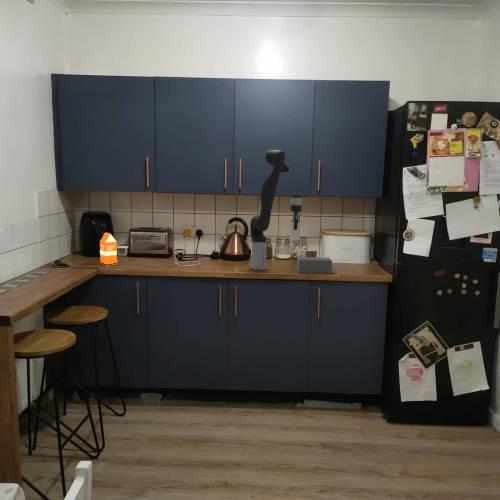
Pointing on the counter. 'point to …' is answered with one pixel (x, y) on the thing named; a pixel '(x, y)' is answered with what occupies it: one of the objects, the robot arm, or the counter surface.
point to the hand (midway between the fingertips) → (295, 229)
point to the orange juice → (108, 249)
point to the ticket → (294, 231)
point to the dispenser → (314, 265)
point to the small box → (310, 253)
